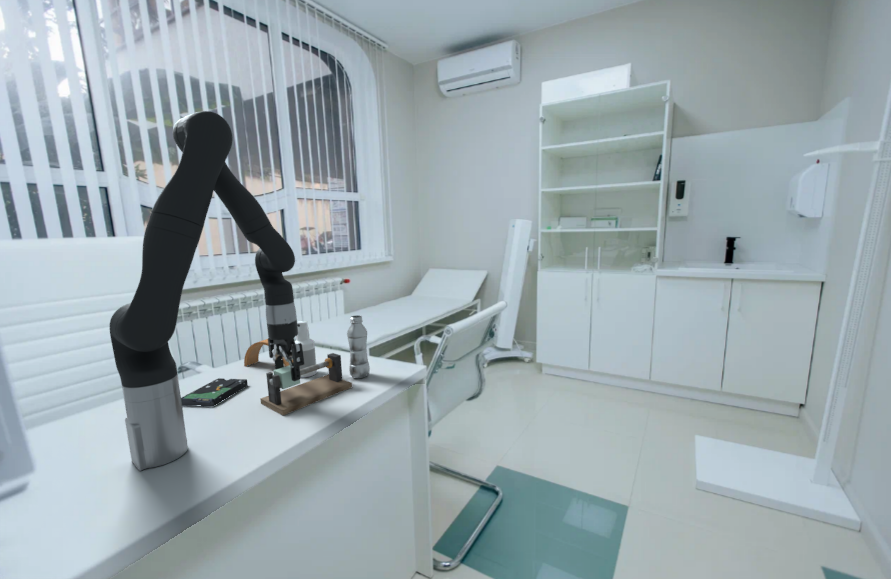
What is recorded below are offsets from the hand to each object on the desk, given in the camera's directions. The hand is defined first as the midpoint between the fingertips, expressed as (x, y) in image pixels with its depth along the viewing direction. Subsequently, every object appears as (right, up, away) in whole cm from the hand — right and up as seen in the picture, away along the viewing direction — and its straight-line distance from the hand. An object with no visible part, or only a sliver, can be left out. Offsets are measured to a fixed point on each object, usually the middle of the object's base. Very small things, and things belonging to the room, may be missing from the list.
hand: (288, 376), depth 105 cm
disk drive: (-24, -8, +8) cm, 27 cm away
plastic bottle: (+16, -4, +19) cm, 25 cm away
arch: (-19, -4, +31) cm, 36 cm away
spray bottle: (-3, -4, +22) cm, 23 cm away
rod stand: (+4, -7, +5) cm, 9 cm away
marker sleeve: (0, -2, 0) cm, 2 cm away
